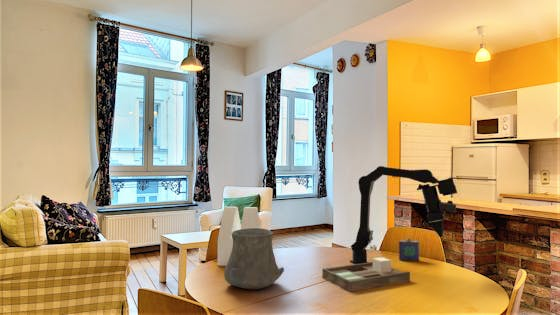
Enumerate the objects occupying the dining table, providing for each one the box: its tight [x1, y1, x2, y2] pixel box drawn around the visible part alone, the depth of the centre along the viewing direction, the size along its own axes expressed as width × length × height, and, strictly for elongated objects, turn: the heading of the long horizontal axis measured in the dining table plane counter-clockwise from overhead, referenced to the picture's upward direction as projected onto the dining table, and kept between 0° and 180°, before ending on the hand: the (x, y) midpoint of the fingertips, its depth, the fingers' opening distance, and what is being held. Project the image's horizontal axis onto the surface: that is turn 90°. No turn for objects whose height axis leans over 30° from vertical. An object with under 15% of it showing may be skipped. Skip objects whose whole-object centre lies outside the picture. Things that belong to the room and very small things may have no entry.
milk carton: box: [217, 206, 262, 267], centre depth 171 cm, size 19×15×25 cm
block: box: [372, 256, 392, 273], centre depth 146 cm, size 5×5×4 cm
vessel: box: [223, 228, 285, 290], centre depth 136 cm, size 22×22×20 cm
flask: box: [398, 237, 420, 262], centre depth 172 cm, size 9×3×11 cm, turn 88°
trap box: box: [321, 261, 411, 293], centre depth 143 cm, size 18×28×4 cm, turn 115°
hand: (441, 235), depth 153 cm, fingers open, 9 cm apart
